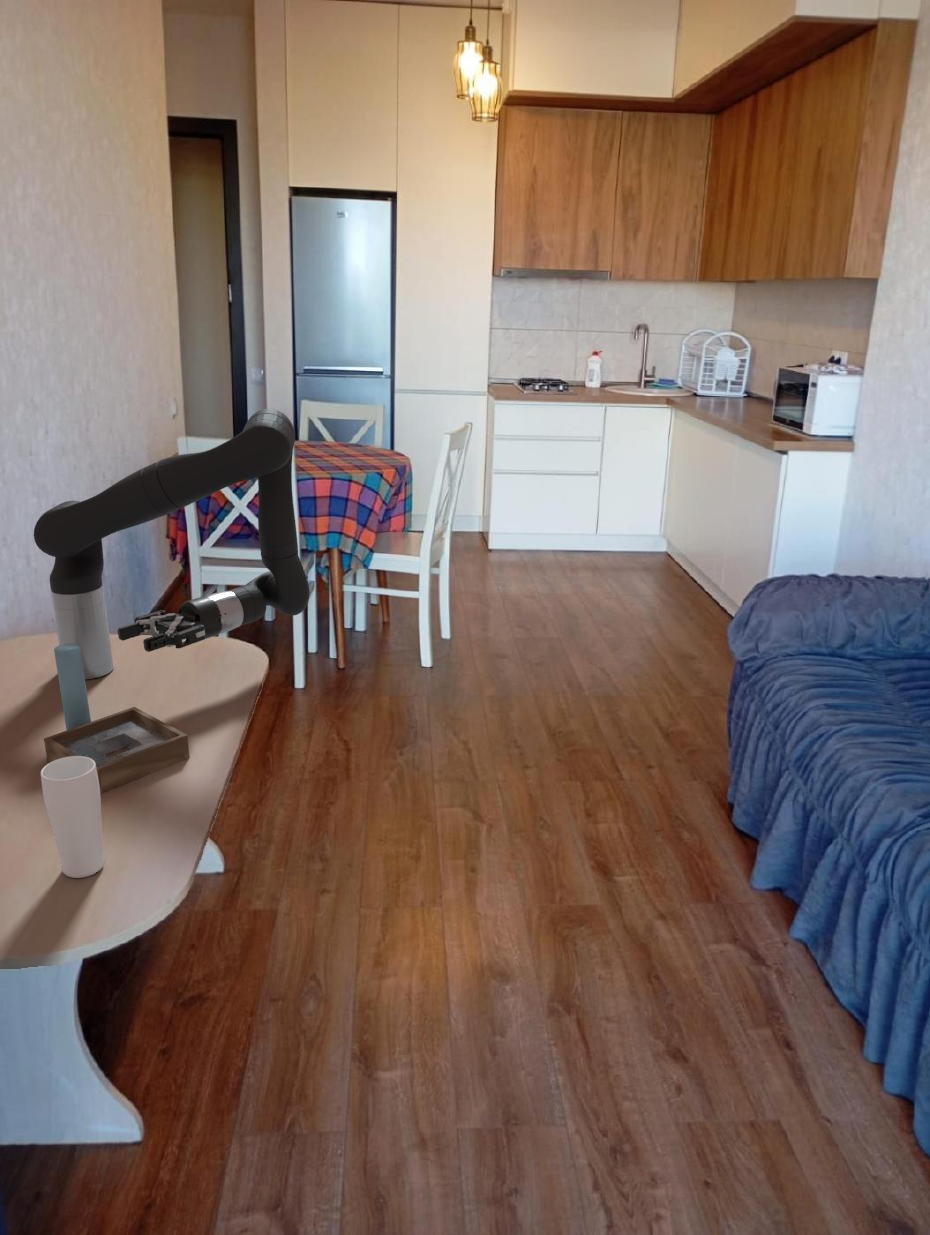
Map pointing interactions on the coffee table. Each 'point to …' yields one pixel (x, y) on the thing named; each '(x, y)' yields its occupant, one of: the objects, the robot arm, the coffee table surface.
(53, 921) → the coffee table surface
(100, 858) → the drinking glass
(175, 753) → the walnut crate
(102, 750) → the grey metal bore plate
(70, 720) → the blue-grey painted peg
